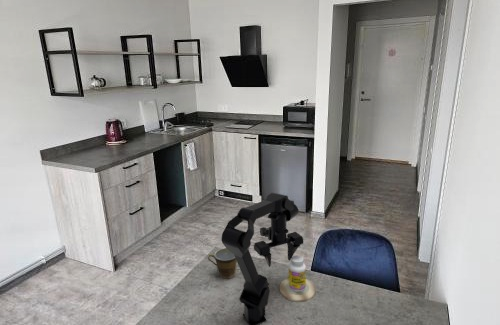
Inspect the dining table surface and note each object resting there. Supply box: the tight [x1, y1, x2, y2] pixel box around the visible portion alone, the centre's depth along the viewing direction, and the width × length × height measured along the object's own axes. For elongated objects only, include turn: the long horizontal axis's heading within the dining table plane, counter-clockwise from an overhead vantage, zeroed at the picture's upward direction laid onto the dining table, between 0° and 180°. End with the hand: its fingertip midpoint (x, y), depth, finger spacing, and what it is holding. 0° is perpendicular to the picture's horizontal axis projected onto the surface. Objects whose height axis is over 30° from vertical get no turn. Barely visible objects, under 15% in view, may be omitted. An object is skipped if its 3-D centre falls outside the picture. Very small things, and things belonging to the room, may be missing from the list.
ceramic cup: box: [207, 247, 238, 280], centre depth 142 cm, size 13×10×10 cm
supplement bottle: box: [288, 254, 307, 292], centre depth 129 cm, size 7×7×13 cm
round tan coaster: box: [279, 277, 316, 303], centre depth 131 cm, size 14×14×1 cm
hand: (279, 263), depth 126 cm, fingers open, 8 cm apart
